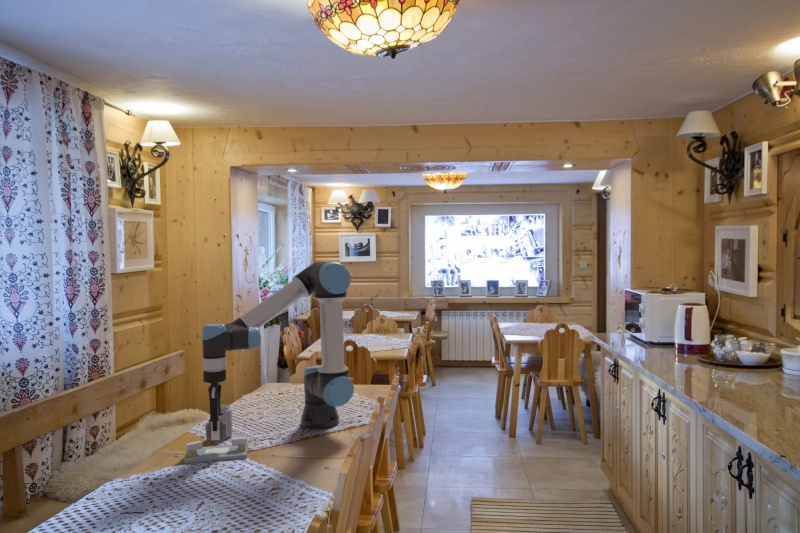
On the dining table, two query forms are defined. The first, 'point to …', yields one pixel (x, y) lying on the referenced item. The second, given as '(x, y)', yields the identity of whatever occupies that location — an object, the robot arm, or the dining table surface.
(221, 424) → the stepped grey block
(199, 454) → the rig
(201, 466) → the dining table surface
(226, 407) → the can
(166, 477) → the dining table surface
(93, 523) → the dining table surface
